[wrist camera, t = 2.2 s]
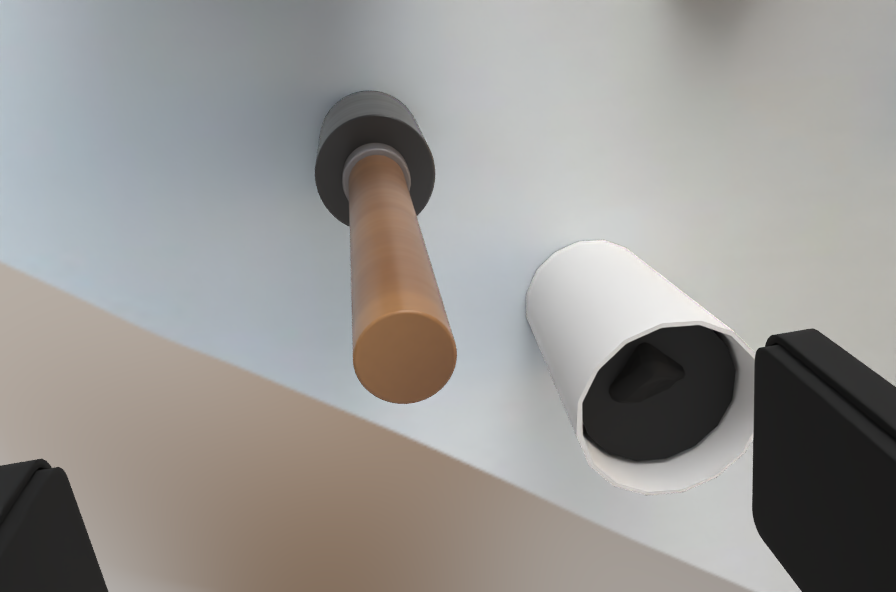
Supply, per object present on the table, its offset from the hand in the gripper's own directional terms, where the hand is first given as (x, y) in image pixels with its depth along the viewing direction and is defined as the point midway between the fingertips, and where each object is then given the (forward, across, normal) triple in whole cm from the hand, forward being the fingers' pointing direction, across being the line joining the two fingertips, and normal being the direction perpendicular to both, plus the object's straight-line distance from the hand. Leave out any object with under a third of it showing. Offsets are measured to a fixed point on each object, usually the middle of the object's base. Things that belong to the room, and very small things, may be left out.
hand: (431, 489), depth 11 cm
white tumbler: (+24, -8, +8) cm, 26 cm away
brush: (+23, 0, -1) cm, 23 cm away
